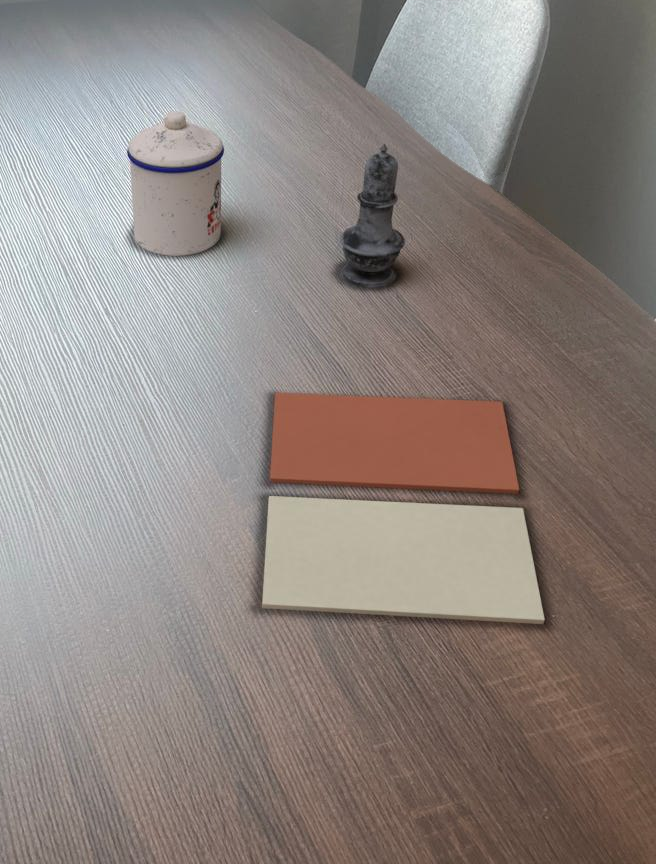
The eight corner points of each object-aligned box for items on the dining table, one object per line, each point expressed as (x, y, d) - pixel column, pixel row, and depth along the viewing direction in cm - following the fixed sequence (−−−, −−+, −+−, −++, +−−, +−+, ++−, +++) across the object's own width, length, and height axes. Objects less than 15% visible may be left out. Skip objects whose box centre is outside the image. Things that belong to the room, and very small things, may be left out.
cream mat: (521, 514, 73) (523, 507, 73) (542, 626, 66) (545, 619, 65) (268, 501, 74) (268, 495, 74) (261, 610, 67) (262, 603, 67)
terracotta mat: (500, 407, 82) (502, 401, 81) (517, 496, 74) (519, 489, 74) (274, 398, 83) (275, 392, 83) (269, 484, 76) (270, 478, 75)
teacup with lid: (229, 255, 99) (231, 130, 91) (136, 262, 99) (129, 137, 90) (211, 200, 107) (211, 81, 99) (125, 207, 107) (118, 87, 98)
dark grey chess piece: (409, 269, 97) (429, 138, 88) (384, 297, 93) (403, 163, 85) (351, 255, 99) (366, 125, 90) (326, 282, 96) (338, 150, 87)
